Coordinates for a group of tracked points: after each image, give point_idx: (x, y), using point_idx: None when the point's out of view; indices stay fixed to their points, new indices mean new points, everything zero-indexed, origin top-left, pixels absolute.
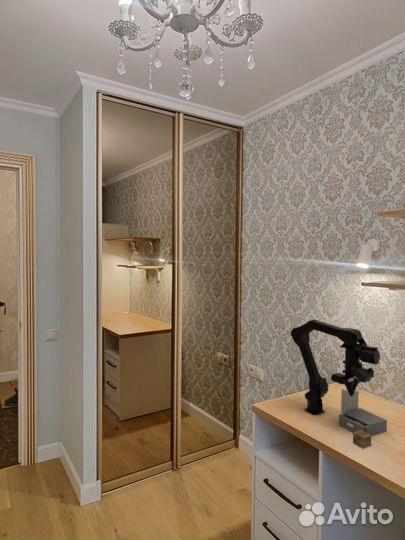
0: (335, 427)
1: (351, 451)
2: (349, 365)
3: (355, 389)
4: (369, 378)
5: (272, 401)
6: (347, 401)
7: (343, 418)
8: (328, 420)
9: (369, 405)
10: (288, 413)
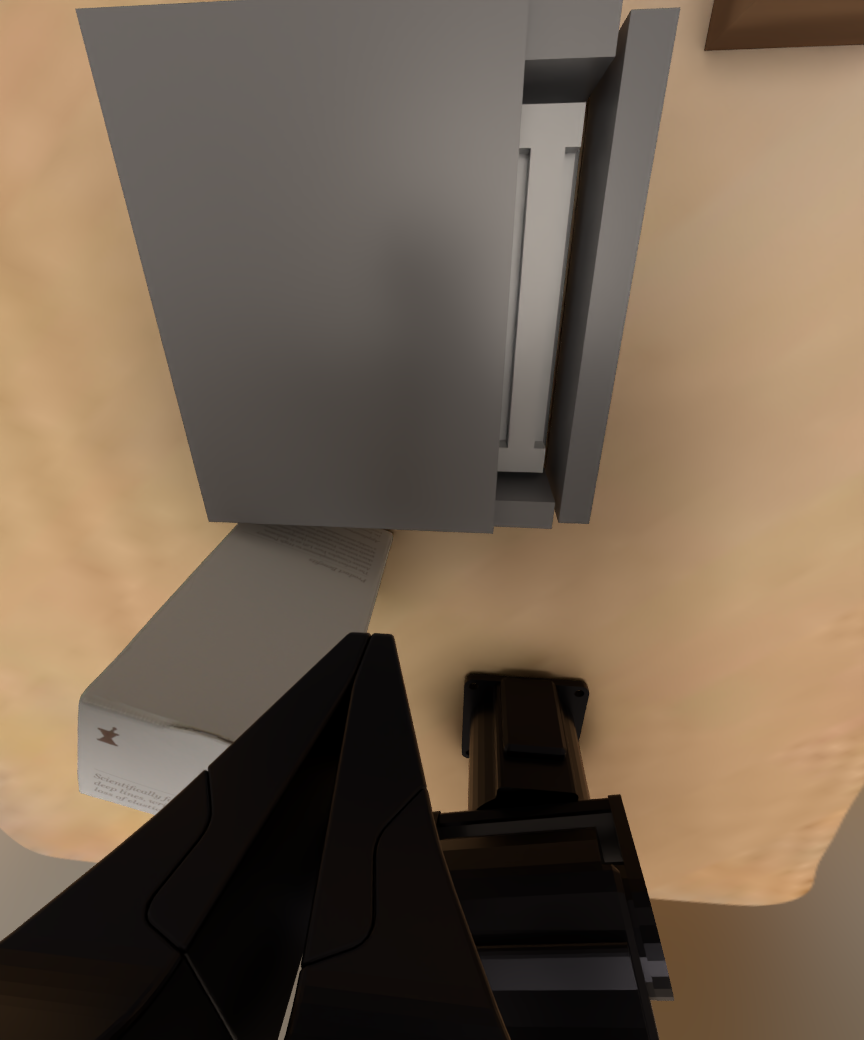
0: (642, 455)
1: None
2: None
3: (234, 743)
4: None
5: None
6: (339, 640)
7: (597, 450)
8: (565, 576)
9: (8, 593)
10: (725, 772)
